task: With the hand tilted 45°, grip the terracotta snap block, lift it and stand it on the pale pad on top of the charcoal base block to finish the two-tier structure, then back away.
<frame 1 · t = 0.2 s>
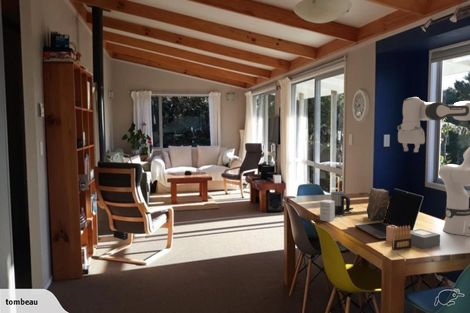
hand: (410, 151, 220), 48 cm above the table, tool pointing down, fingers open, 8 cm apart
snap block: (392, 241, 214), on the table
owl: (375, 219, 260), on the table
base block: (421, 244, 208), on the table
milk frother: (341, 213, 279), on the table
supplement box: (327, 220, 260), on the table
ammunition clip: (401, 248, 202), on the table
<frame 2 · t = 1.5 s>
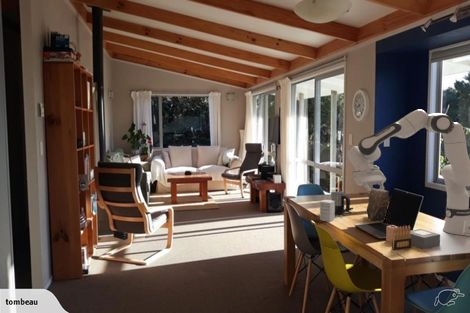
hand: (376, 189, 223), 26 cm above the table, tool tilted 45°, fingers open, 8 cm apart
nothing on the table moved.
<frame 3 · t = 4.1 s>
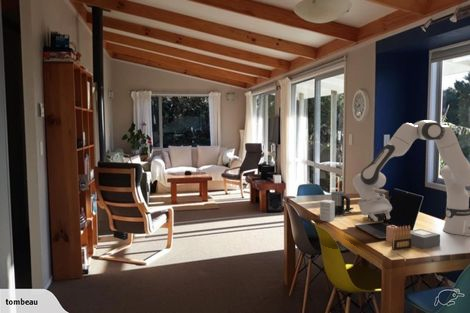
hand: (382, 219, 220), 10 cm above the table, tool tilted 45°, fingers open, 8 cm apart
nothing on the table moved.
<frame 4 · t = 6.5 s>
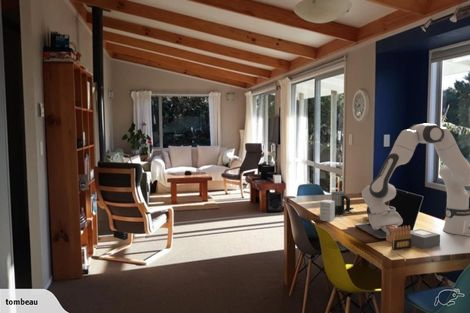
hand: (393, 233, 213), 4 cm above the table, tool tilted 45°, fingers closed on snap block, 5 cm apart
snap block: (392, 241, 214), on the table, touching gripper
everything else where it was.
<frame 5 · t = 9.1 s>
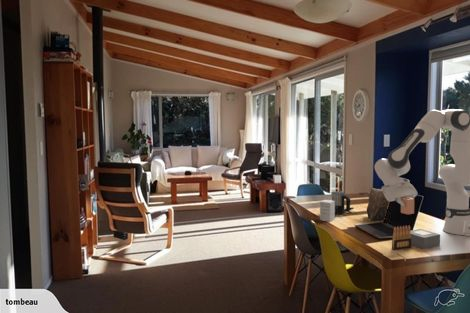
hand: (408, 205, 209), 20 cm above the table, tool tilted 45°, fingers closed on snap block, 5 cm apart
snap block: (407, 213, 210), point 16 cm above the table, touching gripper
everything else where it was.
when the fingers open (12 cm above the table, at t = 11.8 s): snap block drops 1 cm, resting on base block.
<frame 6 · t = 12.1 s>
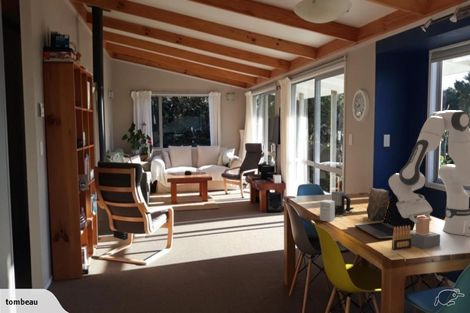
hand: (423, 222, 207), 12 cm above the table, tool tilted 45°, fingers open, 8 cm apart
snap block: (422, 232, 208), point 6 cm above the table, touching base block
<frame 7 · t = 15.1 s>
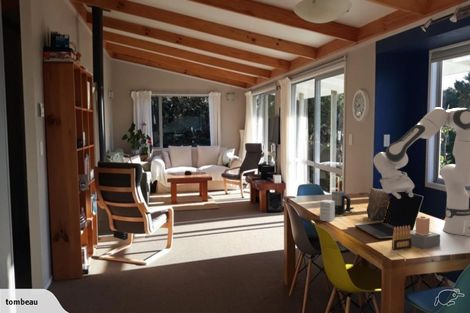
hand: (405, 197, 216), 23 cm above the table, tool tilted 45°, fingers open, 8 cm apart
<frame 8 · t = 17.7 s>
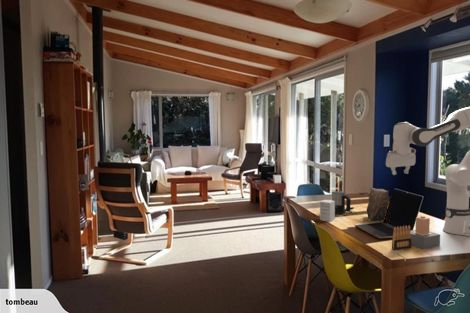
hand: (400, 174, 229), 34 cm above the table, tool pointing down, fingers open, 8 cm apart
at the end: snap block 0.0 cm off-centre on the base block, point 6.2 cm above the base block's base; snap block tilted 0°; the gripper is holding nothing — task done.
